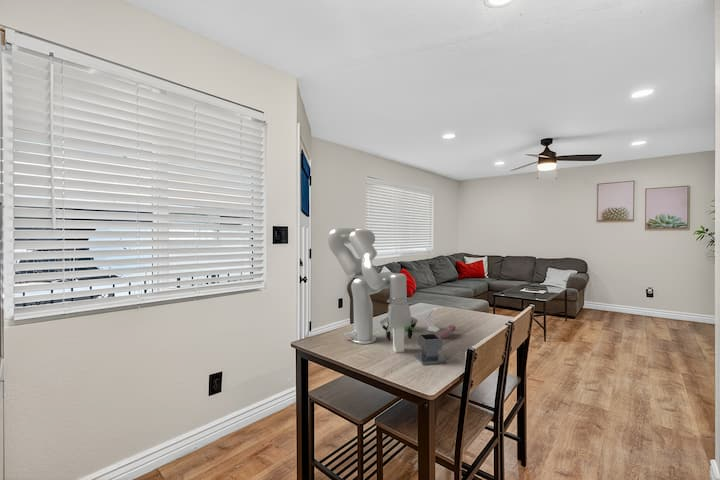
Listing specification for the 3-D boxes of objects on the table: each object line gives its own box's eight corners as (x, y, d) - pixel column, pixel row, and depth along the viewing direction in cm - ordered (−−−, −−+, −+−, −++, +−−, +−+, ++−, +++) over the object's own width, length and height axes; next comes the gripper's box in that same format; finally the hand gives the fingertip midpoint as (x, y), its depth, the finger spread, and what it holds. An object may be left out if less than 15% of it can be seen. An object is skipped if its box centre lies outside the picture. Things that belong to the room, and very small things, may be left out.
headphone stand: (436, 331, 167) (436, 309, 167) (425, 330, 170) (425, 308, 170) (439, 329, 171) (439, 307, 170) (429, 327, 174) (429, 306, 174)
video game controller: (447, 342, 155) (453, 331, 153) (438, 337, 157) (445, 325, 155) (452, 336, 163) (458, 325, 162) (444, 331, 166) (450, 320, 164)
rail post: (395, 352, 139) (395, 325, 139) (393, 349, 143) (392, 323, 143) (404, 351, 140) (404, 325, 139) (401, 348, 143) (401, 322, 143)
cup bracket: (423, 365, 125) (422, 341, 125) (414, 355, 135) (414, 333, 135) (446, 363, 127) (446, 339, 127) (436, 353, 137) (436, 332, 137)
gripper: (381, 304, 135) (382, 343, 136) (419, 301, 138) (420, 340, 139) (377, 300, 143) (378, 338, 143) (413, 298, 146) (414, 334, 146)
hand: (399, 339), depth 141 cm, fingers open, 9 cm apart
